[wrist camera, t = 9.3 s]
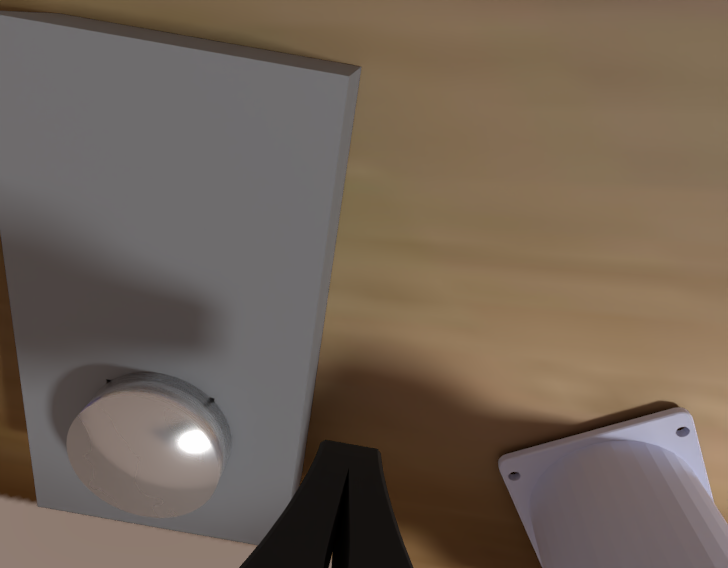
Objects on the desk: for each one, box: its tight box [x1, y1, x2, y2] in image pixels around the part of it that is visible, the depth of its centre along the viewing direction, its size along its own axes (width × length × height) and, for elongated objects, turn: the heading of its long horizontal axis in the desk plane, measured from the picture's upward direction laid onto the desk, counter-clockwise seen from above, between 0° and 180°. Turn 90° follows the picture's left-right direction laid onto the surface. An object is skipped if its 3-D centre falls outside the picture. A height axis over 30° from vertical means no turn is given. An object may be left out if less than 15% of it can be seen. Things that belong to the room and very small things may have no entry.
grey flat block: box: [0, 11, 361, 545], centre depth 20 cm, size 18×10×4 cm, turn 171°
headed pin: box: [66, 372, 232, 518], centre depth 21 cm, size 5×5×5 cm
